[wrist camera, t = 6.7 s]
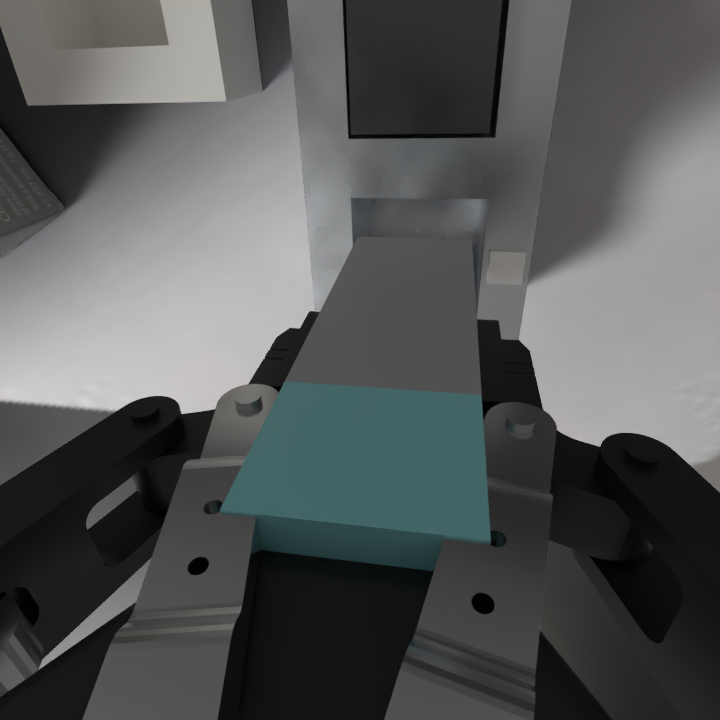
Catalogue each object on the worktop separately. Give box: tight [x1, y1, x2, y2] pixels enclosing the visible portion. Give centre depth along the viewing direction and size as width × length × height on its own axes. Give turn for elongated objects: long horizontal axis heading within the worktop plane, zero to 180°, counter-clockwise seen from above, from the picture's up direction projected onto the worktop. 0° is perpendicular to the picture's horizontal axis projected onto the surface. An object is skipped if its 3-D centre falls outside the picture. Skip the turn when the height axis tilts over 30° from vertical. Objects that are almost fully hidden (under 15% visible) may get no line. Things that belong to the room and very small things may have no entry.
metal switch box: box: [287, 0, 572, 340], centre depth 19 cm, size 8×14×6 cm, turn 2°
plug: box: [220, 237, 491, 571], centre depth 12 cm, size 4×4×11 cm
